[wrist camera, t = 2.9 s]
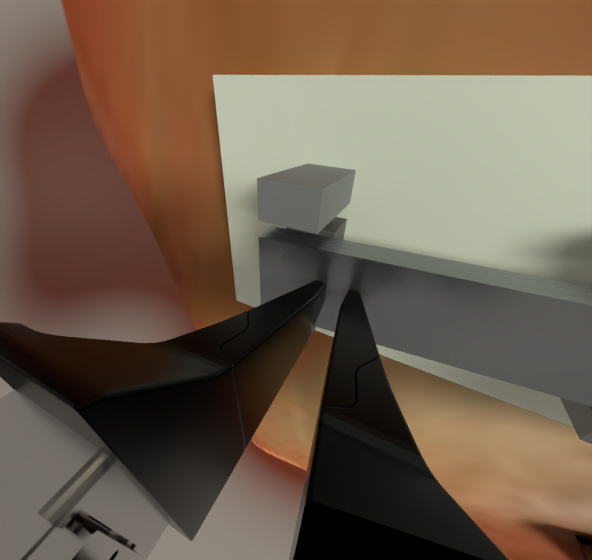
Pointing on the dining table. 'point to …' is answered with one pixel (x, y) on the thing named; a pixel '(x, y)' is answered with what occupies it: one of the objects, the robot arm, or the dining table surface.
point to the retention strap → (445, 309)
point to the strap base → (417, 180)
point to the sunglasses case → (585, 549)
